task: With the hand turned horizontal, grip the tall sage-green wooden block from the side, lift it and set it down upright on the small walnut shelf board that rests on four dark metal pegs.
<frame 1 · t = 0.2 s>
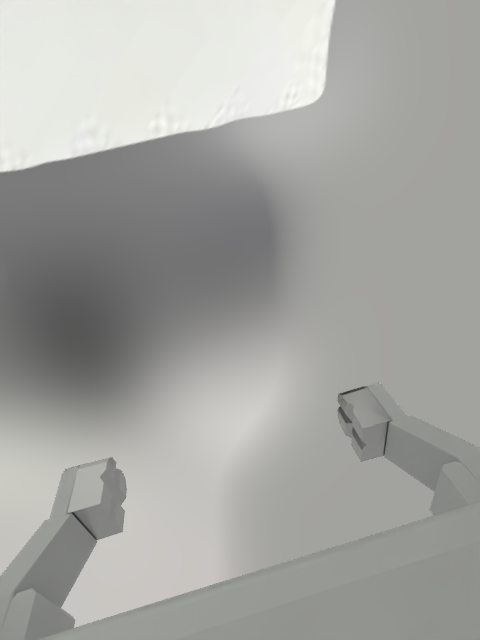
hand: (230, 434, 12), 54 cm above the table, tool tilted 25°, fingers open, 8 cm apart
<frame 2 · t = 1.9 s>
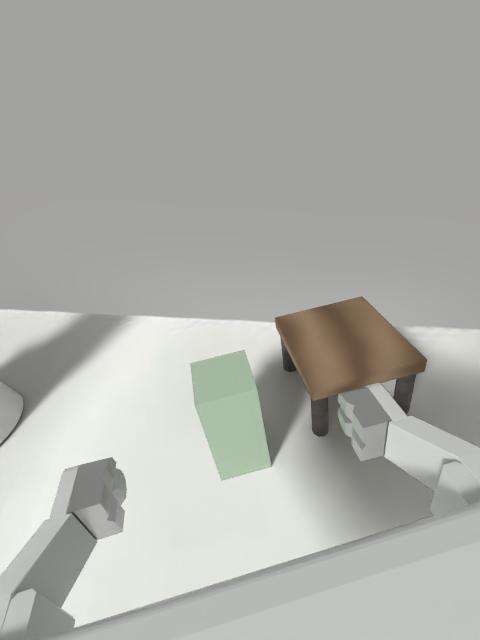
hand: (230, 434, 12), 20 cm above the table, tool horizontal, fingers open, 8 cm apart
peg shelf: (339, 385, 39), on the table
green block: (241, 451, 34), on the table
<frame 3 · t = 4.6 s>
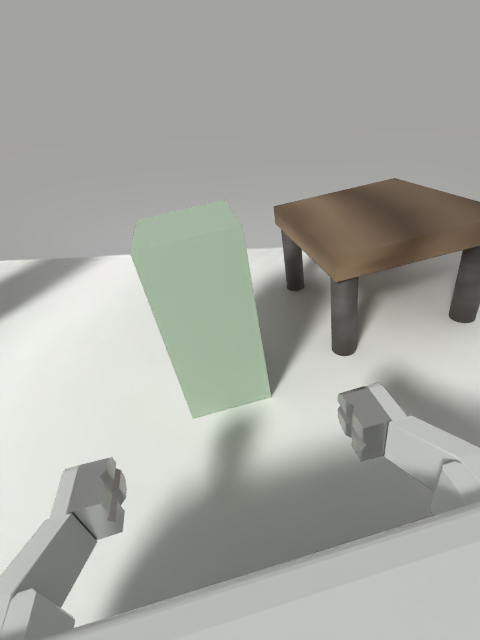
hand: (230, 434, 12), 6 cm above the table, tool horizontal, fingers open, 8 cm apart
peg shelf: (367, 299, 27), on the table
green block: (226, 380, 22), on the table
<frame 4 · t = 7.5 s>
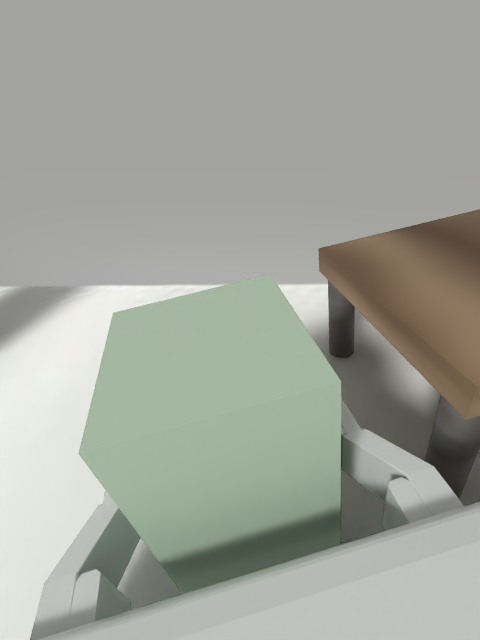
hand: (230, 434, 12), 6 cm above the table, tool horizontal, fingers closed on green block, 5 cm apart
peg shelf: (451, 381, 19), on the table
green block: (259, 537, 14), on the table, touching gripper
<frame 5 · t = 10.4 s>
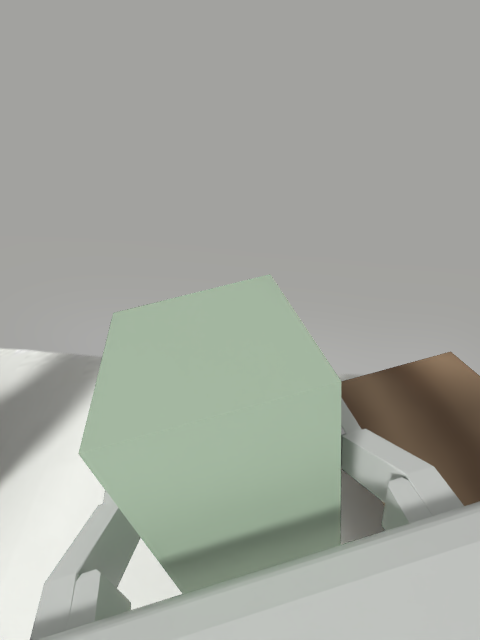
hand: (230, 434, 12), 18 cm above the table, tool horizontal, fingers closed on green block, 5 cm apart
peg shelf: (423, 488, 26), on the table
green block: (259, 537, 14), point 12 cm above the table, touching gripper
when the fingers open (14 cm above the table, at t = 13.3 s): green block stays where it is, resting on peg shelf.
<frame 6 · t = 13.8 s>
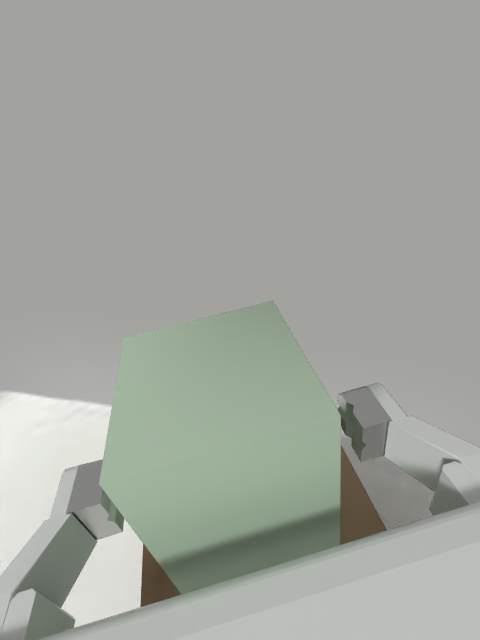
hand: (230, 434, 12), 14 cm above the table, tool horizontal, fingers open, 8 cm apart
peg shelf: (279, 603, 19), on the table
green block: (262, 548, 15), point 7 cm above the table, touching peg shelf
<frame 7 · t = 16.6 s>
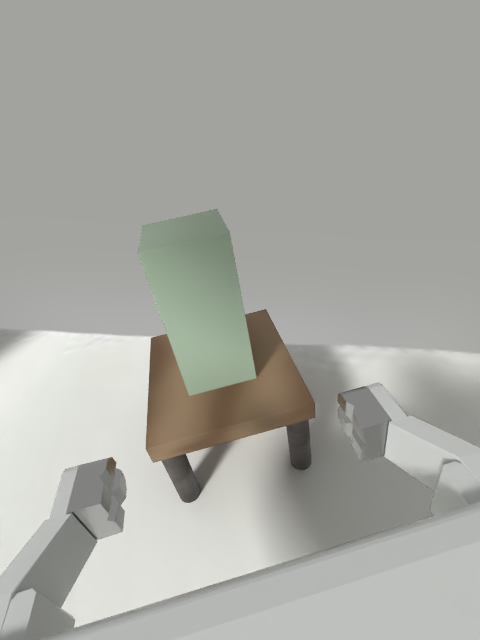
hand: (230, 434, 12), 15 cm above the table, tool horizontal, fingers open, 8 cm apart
peg shelf: (234, 425, 30), on the table
green block: (218, 364, 26), point 7 cm above the table, touching peg shelf
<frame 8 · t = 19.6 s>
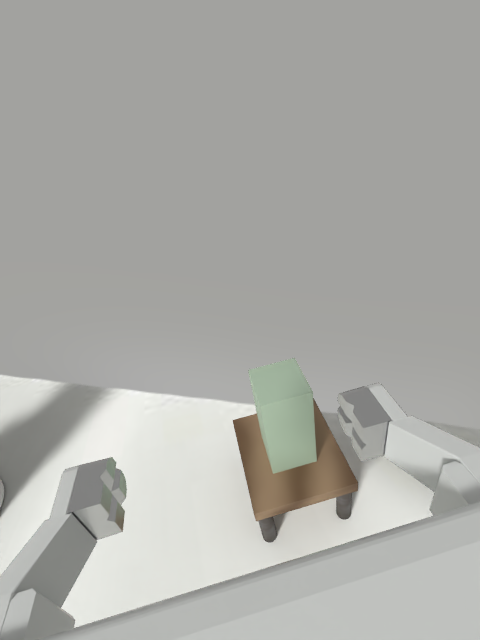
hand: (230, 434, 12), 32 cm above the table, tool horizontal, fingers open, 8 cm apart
peg shelf: (292, 482, 42), on the table
green block: (287, 448, 38), point 7 cm above the table, touching peg shelf
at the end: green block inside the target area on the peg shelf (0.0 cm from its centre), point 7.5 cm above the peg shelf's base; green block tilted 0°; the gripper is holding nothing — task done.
